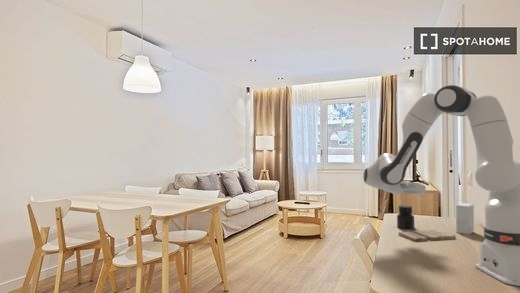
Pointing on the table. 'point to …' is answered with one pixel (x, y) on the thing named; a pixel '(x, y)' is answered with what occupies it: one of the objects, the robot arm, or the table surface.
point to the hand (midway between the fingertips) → (424, 193)
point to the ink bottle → (405, 217)
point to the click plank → (435, 234)
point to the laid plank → (413, 236)
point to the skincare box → (465, 218)
